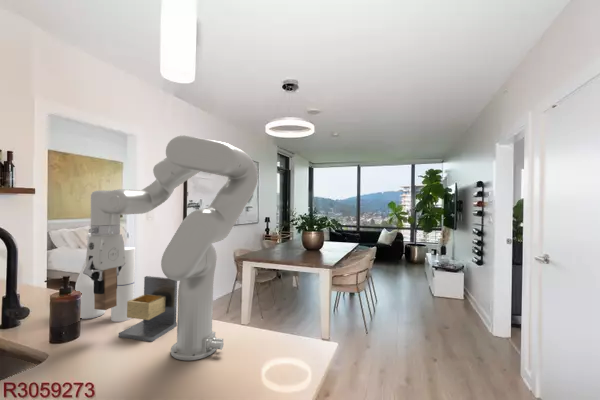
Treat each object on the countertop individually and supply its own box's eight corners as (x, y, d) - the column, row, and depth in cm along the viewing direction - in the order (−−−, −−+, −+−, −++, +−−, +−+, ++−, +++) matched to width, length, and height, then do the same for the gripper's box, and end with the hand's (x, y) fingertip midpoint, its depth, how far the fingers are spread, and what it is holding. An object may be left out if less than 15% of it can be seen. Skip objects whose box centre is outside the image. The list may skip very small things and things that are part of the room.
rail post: (116, 305, 93) (116, 260, 93) (105, 310, 89) (105, 262, 89) (105, 304, 94) (105, 259, 94) (94, 309, 90) (94, 262, 90)
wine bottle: (112, 312, 114) (114, 233, 114) (87, 321, 105) (89, 235, 105) (93, 309, 117) (95, 231, 117) (68, 317, 108) (70, 234, 108)
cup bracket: (176, 326, 103) (177, 278, 103) (152, 341, 91) (153, 288, 91) (146, 322, 106) (147, 275, 106) (118, 336, 94) (120, 284, 94)
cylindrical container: (115, 323, 104) (117, 250, 104) (107, 318, 108) (109, 248, 108) (137, 317, 110) (139, 248, 110) (128, 312, 114) (130, 246, 114)
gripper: (91, 234, 83) (91, 300, 83) (136, 228, 99) (136, 284, 99) (69, 233, 84) (69, 299, 84) (117, 228, 101) (117, 283, 101)
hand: (105, 290), depth 92 cm, fingers closed on rail post, 4 cm apart
